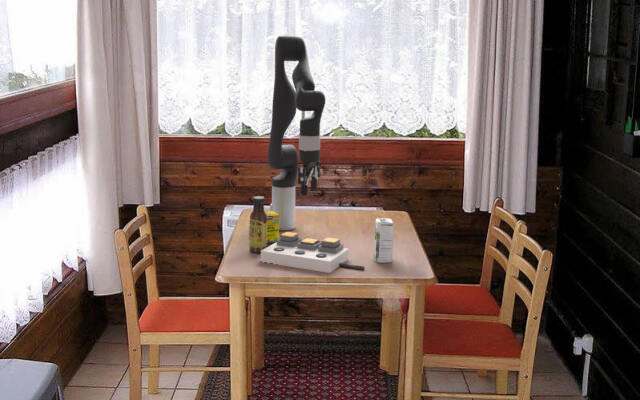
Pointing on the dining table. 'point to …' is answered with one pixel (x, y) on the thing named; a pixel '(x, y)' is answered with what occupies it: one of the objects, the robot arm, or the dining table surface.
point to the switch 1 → (289, 236)
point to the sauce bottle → (258, 226)
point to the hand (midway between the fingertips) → (309, 192)
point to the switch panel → (307, 256)
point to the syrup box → (383, 240)
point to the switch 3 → (331, 242)
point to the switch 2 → (310, 241)
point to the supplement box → (272, 227)
